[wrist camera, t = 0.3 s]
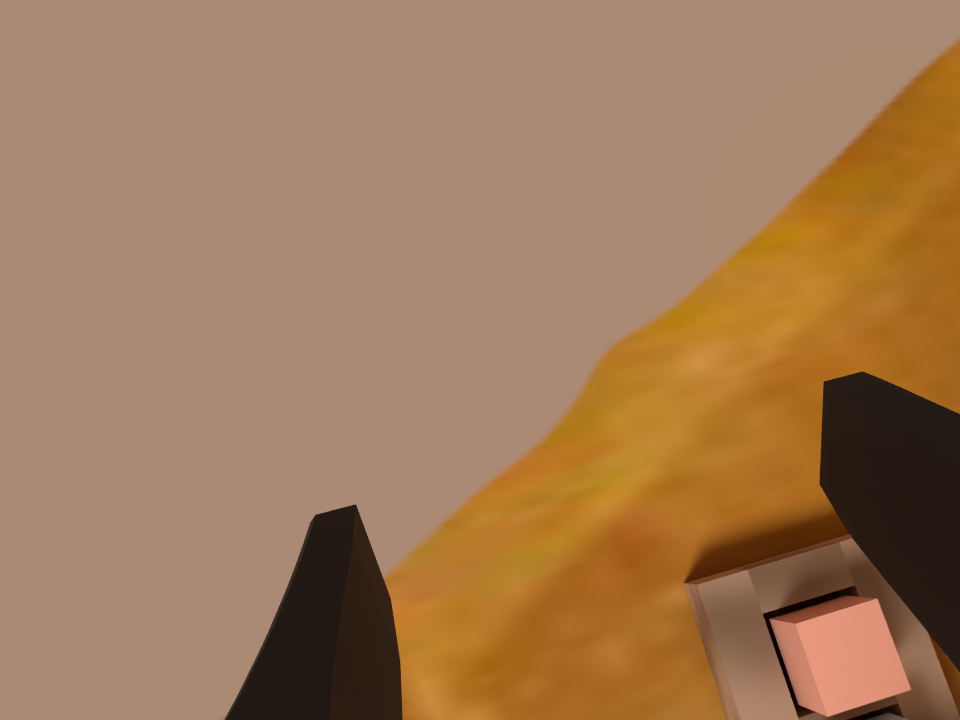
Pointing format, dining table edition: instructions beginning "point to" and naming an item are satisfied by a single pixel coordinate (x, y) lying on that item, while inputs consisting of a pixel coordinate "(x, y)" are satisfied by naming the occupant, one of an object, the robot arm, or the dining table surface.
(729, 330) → the dining table surface
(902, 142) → the dining table surface
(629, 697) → the dining table surface
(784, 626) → the brick key
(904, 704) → the walnut bezel
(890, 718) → the slate key
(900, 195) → the dining table surface
